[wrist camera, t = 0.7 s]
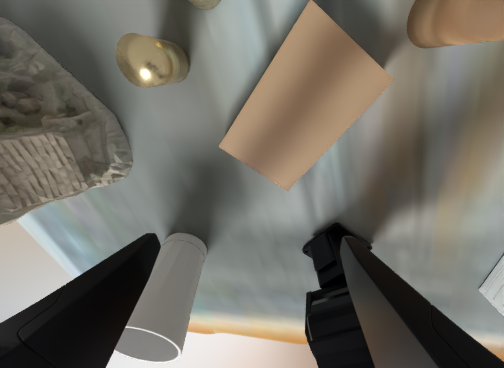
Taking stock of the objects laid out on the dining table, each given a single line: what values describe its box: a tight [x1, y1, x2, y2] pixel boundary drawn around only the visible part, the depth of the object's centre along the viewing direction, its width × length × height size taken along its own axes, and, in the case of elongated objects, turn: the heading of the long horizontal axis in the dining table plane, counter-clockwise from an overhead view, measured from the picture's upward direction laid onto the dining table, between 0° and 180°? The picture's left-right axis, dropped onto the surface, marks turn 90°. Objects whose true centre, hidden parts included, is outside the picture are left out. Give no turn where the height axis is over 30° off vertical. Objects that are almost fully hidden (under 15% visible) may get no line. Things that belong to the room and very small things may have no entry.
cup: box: [114, 233, 207, 363], centre depth 24 cm, size 8×8×12 cm
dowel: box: [407, 0, 504, 48], centre depth 12 cm, size 4×4×6 cm
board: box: [219, 0, 394, 191], centre depth 17 cm, size 8×12×3 cm, turn 146°
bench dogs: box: [116, 0, 221, 88], centre depth 14 cm, size 3×9×5 cm, turn 146°
